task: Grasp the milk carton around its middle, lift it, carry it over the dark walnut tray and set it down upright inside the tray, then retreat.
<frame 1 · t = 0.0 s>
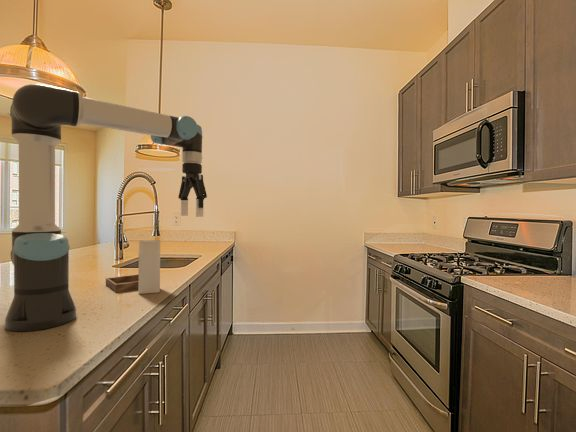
hand: (191, 216, 129), 28 cm above the table, fingers open, 13 cm apart
tray: (130, 285, 126), on the table
milk carton: (149, 291, 119), on the table
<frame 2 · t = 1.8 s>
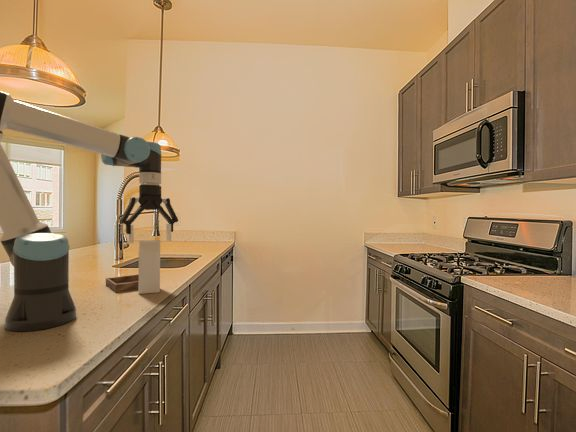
hand: (150, 241, 119), 18 cm above the table, fingers open, 13 cm apart
nothing on the table moved.
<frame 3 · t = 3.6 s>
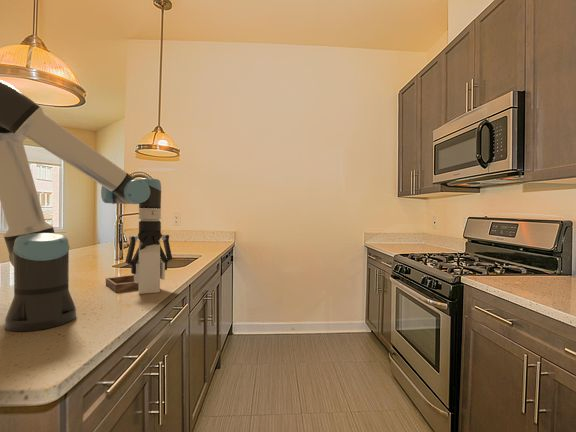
hand: (149, 280, 119), 4 cm above the table, fingers closed on milk carton, 9 cm apart
milk carton: (149, 291, 119), on the table, touching gripper
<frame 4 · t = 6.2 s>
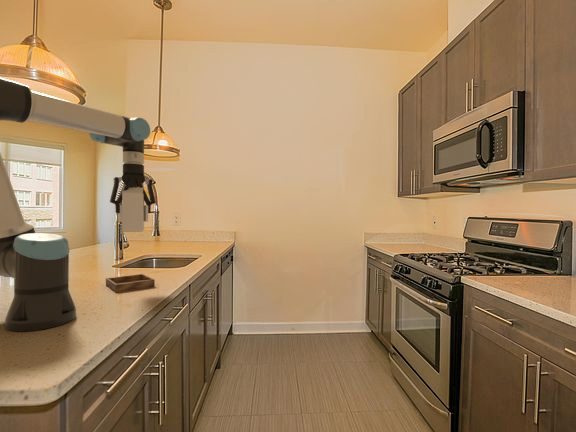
hand: (133, 221, 125), 26 cm above the table, fingers closed on milk carton, 9 cm apart
milk carton: (133, 232, 125), point 21 cm above the table, touching gripper
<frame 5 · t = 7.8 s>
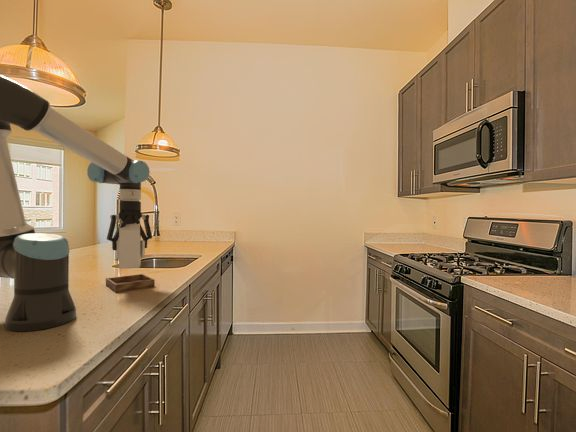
hand: (130, 257, 126), 11 cm above the table, fingers closed on milk carton, 9 cm apart
milk carton: (130, 267, 126), point 7 cm above the table, touching gripper
when the fingers open (6 cm above the table, at t = 9.2 s): milk carton drops 1 cm, resting on tray.
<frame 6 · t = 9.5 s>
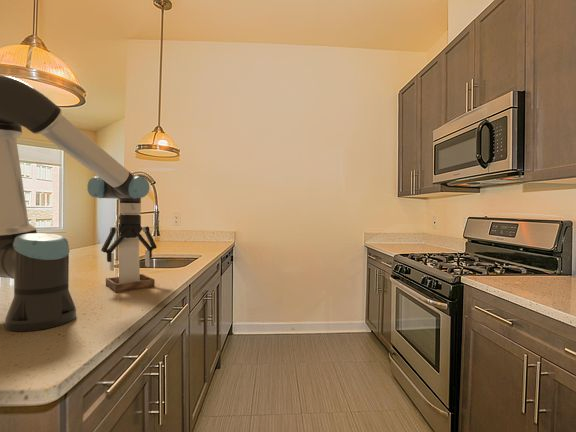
hand: (130, 268, 126), 7 cm above the table, fingers open, 12 cm apart
milk carton: (129, 284, 126), point 1 cm above the table, touching tray
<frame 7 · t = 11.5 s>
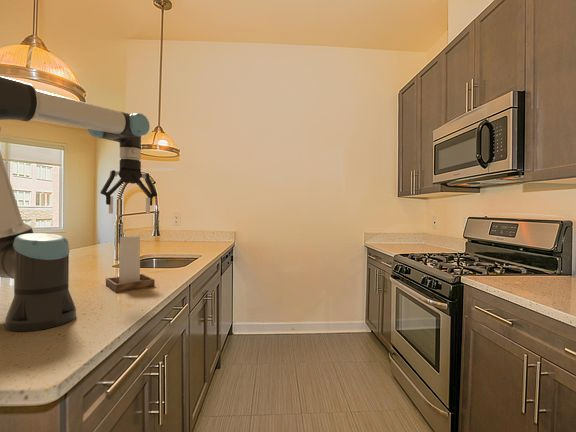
hand: (130, 213, 126), 29 cm above the table, fingers open, 13 cm apart
nothing on the table moved.
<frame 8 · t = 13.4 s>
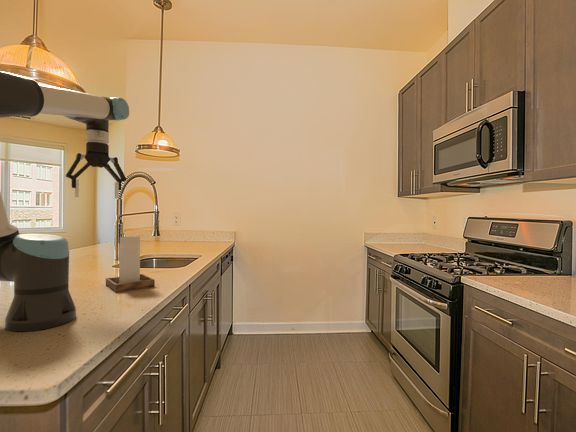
hand: (97, 197, 124), 35 cm above the table, fingers open, 13 cm apart
nothing on the table moved.
at the end: milk carton inside the target area on the tray (0.1 cm from its centre), point 0.4 cm above the tray's base; milk carton tilted 0°; the gripper is holding nothing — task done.
